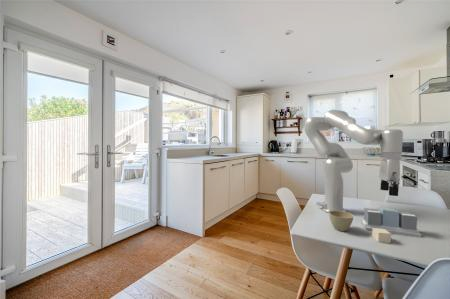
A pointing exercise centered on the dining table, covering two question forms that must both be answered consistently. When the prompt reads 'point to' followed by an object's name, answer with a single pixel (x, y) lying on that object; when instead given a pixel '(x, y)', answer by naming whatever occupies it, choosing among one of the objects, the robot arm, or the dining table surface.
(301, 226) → the dining table surface
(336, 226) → the olive bowl
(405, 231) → the rail fixture
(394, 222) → the module
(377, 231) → the beige cube
